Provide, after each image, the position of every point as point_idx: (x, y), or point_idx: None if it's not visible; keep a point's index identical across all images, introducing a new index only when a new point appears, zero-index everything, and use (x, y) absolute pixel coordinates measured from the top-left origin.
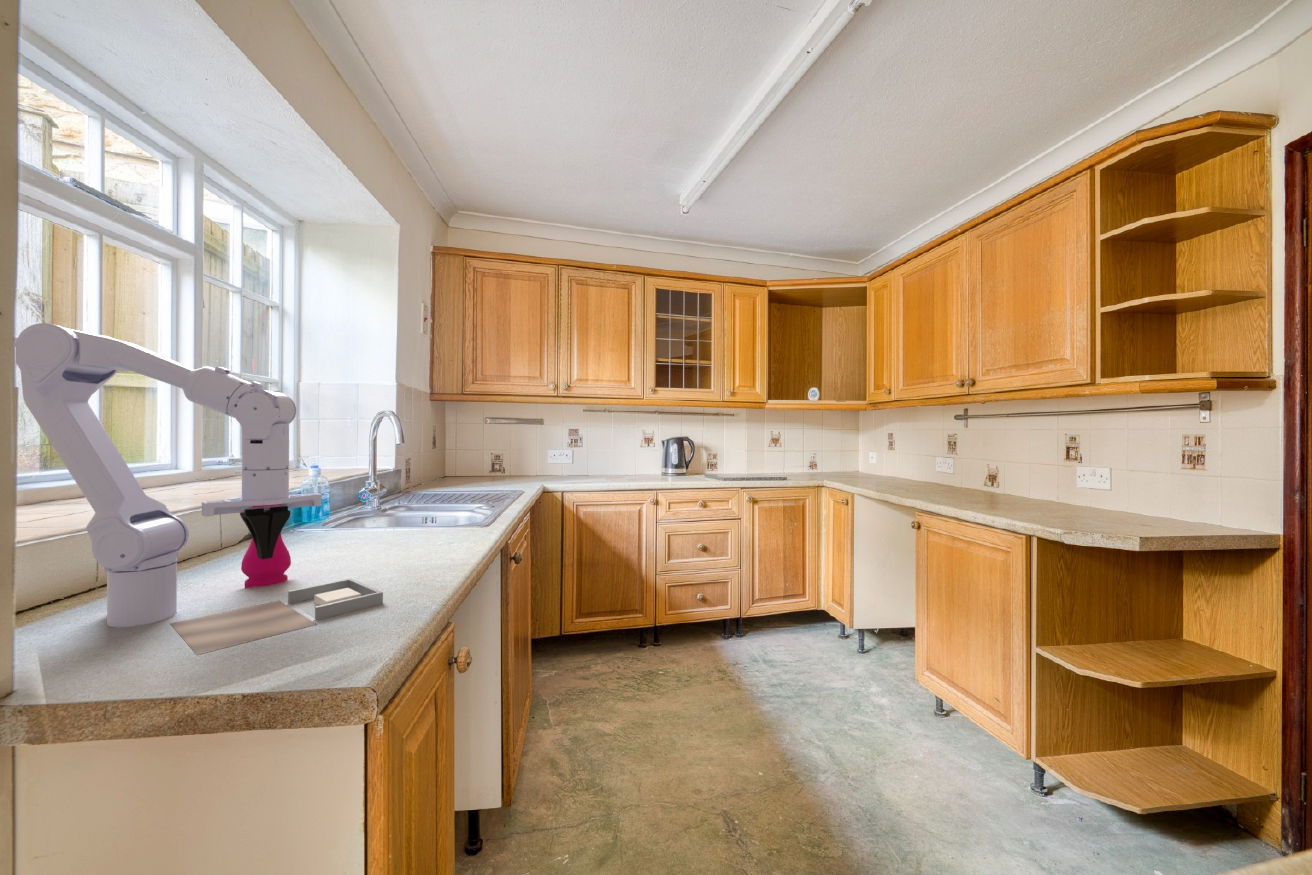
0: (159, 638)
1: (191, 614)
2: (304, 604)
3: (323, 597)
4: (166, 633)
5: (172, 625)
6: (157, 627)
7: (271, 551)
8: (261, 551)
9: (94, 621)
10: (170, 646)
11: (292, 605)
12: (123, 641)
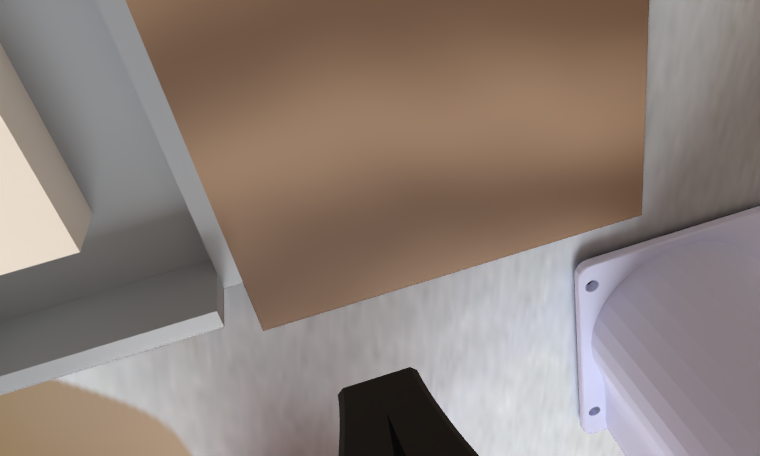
0: (659, 139)
1: (540, 362)
2: None
3: (10, 169)
4: None
5: (640, 183)
6: None
7: (359, 424)
8: (441, 409)
9: None
10: (653, 4)
11: (198, 225)
12: (739, 171)
